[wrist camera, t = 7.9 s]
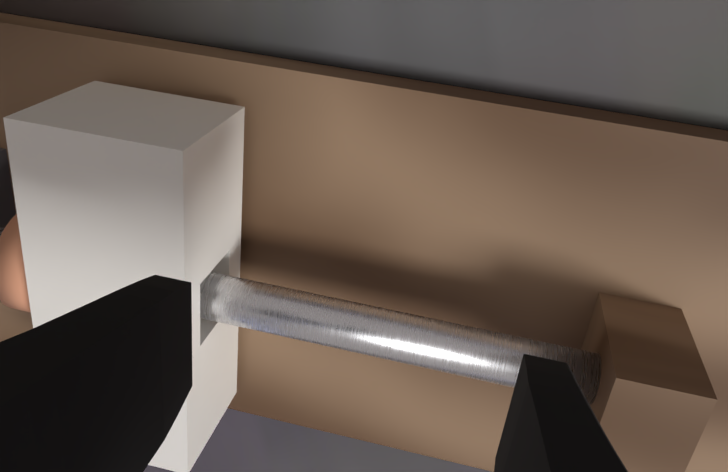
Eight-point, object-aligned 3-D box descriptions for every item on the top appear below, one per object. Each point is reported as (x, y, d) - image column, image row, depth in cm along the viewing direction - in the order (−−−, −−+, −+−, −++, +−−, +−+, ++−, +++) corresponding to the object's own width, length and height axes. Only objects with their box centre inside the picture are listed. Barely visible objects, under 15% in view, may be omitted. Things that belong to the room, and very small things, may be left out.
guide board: (705, 497, 20) (750, 641, 16) (-61, 317, 24) (-178, 399, 20) (872, 153, 15) (996, 241, 11) (-132, -9, 19) (-308, 13, 15)
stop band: (103, 284, 19) (43, 339, 17) (66, 276, 20) (0, 329, 17) (97, 196, 18) (30, 242, 16) (56, 188, 18) (-16, 232, 16)
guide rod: (626, 392, 16) (634, 425, 15) (-63, 242, 19) (-98, 261, 18) (641, 352, 16) (649, 383, 15) (-71, 203, 18) (-107, 221, 17)
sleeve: (236, 392, 21) (187, 474, 18) (116, 363, 21) (48, 439, 18) (244, 106, 16) (183, 151, 13) (94, 80, 17) (3, 117, 14)
